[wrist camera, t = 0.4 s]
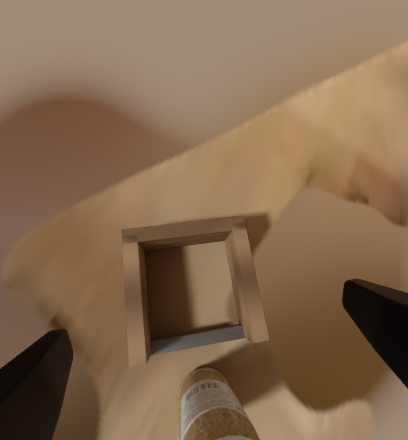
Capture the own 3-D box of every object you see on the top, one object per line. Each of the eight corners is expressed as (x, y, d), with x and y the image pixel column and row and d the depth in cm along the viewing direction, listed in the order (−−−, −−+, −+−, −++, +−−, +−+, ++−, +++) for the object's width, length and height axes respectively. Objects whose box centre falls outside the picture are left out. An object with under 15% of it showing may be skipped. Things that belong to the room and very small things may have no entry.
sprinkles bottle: (177, 431, 20) (173, 671, 7) (178, 366, 21) (175, 468, 8) (233, 427, 20) (326, 647, 7) (230, 363, 22) (304, 457, 9)
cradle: (254, 333, 22) (269, 340, 19) (138, 355, 21) (129, 367, 17) (233, 228, 25) (243, 215, 22) (130, 240, 24) (121, 229, 20)
